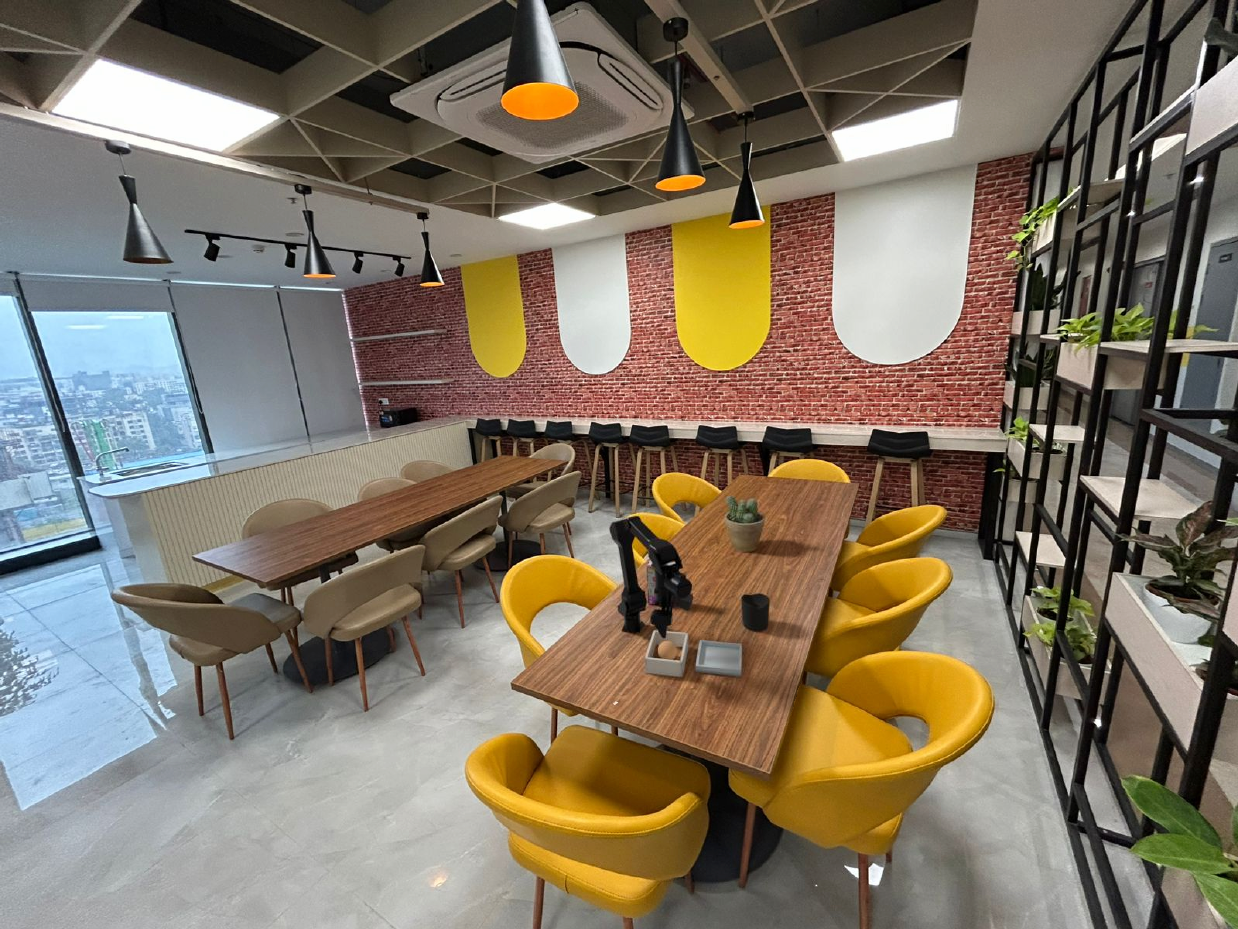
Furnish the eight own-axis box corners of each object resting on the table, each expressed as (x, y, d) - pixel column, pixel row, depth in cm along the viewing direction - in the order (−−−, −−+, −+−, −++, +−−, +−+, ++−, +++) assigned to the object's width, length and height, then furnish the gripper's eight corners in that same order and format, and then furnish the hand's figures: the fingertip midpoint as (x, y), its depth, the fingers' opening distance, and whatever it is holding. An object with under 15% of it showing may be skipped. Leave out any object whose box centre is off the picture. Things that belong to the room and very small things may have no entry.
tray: (699, 645, 163) (699, 640, 162) (741, 649, 159) (741, 643, 159) (695, 672, 150) (695, 665, 150) (741, 677, 147) (741, 670, 146)
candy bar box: (647, 605, 190) (645, 565, 186) (650, 598, 194) (648, 560, 191) (676, 607, 187) (675, 567, 183) (678, 601, 191) (677, 561, 187)
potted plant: (761, 539, 243) (761, 491, 237) (768, 555, 226) (769, 503, 220) (723, 540, 245) (722, 492, 239) (727, 556, 228) (727, 504, 222)
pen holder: (748, 615, 179) (748, 589, 177) (773, 623, 173) (774, 597, 171) (736, 627, 172) (736, 601, 170) (762, 635, 166) (762, 609, 164)
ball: (660, 652, 161) (659, 636, 159) (678, 654, 159) (677, 638, 158) (656, 664, 155) (656, 647, 153) (675, 666, 153) (675, 649, 152)
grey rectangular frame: (654, 643, 166) (653, 630, 164) (688, 646, 163) (688, 633, 162) (645, 673, 151) (644, 658, 150) (682, 677, 148) (682, 662, 147)
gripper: (687, 601, 140) (688, 650, 144) (694, 571, 157) (695, 615, 161) (648, 598, 143) (651, 646, 147) (659, 569, 160) (661, 612, 164)
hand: (666, 629), depth 154 cm, fingers open, 9 cm apart
